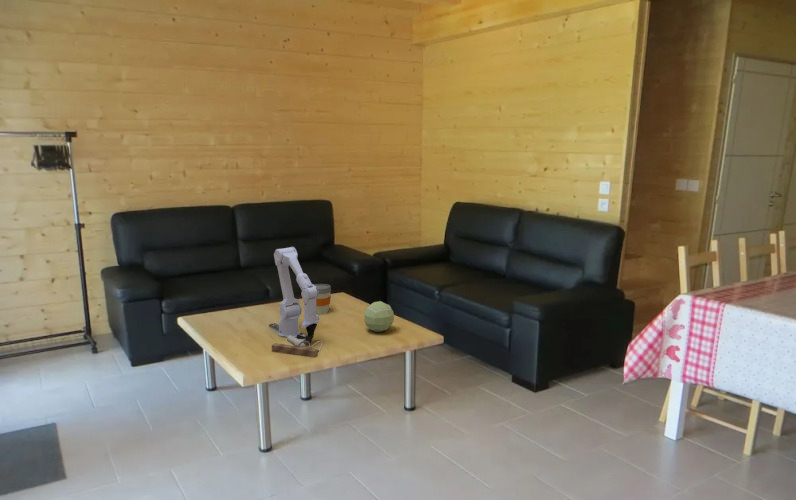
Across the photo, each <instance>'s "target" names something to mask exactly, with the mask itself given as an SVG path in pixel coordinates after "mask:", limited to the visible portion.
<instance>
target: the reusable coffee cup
mask: <svg viewBox="0 0 796 500" xmlns="http://www.w3.org/2000/svg"><path fill="white" fill-rule="evenodd" d="M314 286H316V287H317V289H318V291H319V295H318V297H317V298H316V315H325V314H328V313H329V309H330V304H331V297H332V295H331V293H332V286H331V285H330V284H328V283H314Z"/></svg>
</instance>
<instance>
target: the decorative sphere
mask: <svg viewBox="0 0 796 500" xmlns="http://www.w3.org/2000/svg"><path fill="white" fill-rule="evenodd" d="M394 317H395V315H394V310H393V309H392V307H391V305H390V304H387V303H385V302H383V301H381V300H379V301H374V302H372V303H371V304H370V305H368V306H367V307H366V308H365V310H364V317H363V318H364V319H363V320H364V321H363V322H364V324H365V325H366V327H367V328H368V329H370V330H371V331H372V332H376V333H381V332H384V331H387V330H388V329H390V328H391V327H392V325H393V322H394V319H395V318H394Z"/></svg>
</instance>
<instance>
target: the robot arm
mask: <svg viewBox="0 0 796 500" xmlns="http://www.w3.org/2000/svg"><path fill="white" fill-rule="evenodd" d="M298 255H299V254H298V251H297V249H296V248H295V246H290V247H285V248H276V249H275V251H274V252H273V258H274V263H275V266H276V267H277V268H276V269H277V271H278V277H279V283H280V288H281V292H282V298H283V300H282V301H281V302H280V303H279V315H280V317H279V318H278V319H279V320H278V334H277V335H278V336H277V337H286V338H287V337H288V336H289V335H292V336H294V337H295V338H296V337H297V335H298V334H299V335H300V333H301V332H302V331H300V328H301V329H304V330H306V333H307V334H306V335H308V336H311V335H312V336H313V338H312V340H314V337H315V336H314V335H315V331H316V328H317V326H318V324H319V321H320V315H317V314H316V298H317V297H318V295H319V291H318V289H317V287H316V286H314V284H315V283H314V284H313V283H312V282H311V279H310V278H309V276H308V274H307V273H304V272H303V268H302V266H301V264H300V262H299V260H298ZM289 267H290V269H292V271H293V273H294V274H295V276H296V279H295V280H296V282H297V284H298V287H299V288H300V290H301V294H300V295H301V297H302V303H303V306H304V307H303V309H304V310H302V305H301V304H300V300H299V299H297V298H295V295H294V290H293V286H292V285H293V284H292V280H291V279H292V278H291V276H290V275H291V273H290V270H289ZM302 312H303V316H304V317H303V318H304V319H303V321H302V324H301V327H300V328H299V326H300V325H299V318H300V317H301V314H302Z"/></svg>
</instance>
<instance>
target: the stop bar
mask: <svg viewBox="0 0 796 500" xmlns="http://www.w3.org/2000/svg"><path fill="white" fill-rule="evenodd" d="M317 350H318V348H313V347H306V346H305V347H300V346H294V345H292V344H284V343H277V342H276V343H273V344H272V345H271V352H273V353H275V352H276V353H281V354H287V355H288V354H289V355H295V356H301V357H309V358H316V357H317V356H318V351H317Z"/></svg>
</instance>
